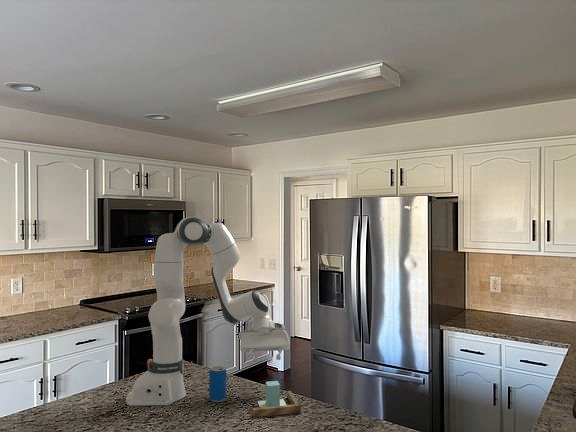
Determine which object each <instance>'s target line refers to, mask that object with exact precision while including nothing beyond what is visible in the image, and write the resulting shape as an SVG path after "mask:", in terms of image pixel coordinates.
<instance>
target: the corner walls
mask: <svg viewBox="0 0 576 432" xmlns="http://www.w3.org/2000/svg"><path fill="white" fill-rule="evenodd" d="M286 397H287V400H288V401H289V403H290V404H286V405H283V406H273V407H262V408H260V407H253V408H252V417H253V418H260V417H267V416H268V417H271V416H280V415H281V416H282V415H289V414H300V413H301V412H302V408H301V407H302V406H301V404H300V402H299V401H298V399H297V397H296V396H295V394H294V393H293V392H292V390H287V391H286Z"/></svg>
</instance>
